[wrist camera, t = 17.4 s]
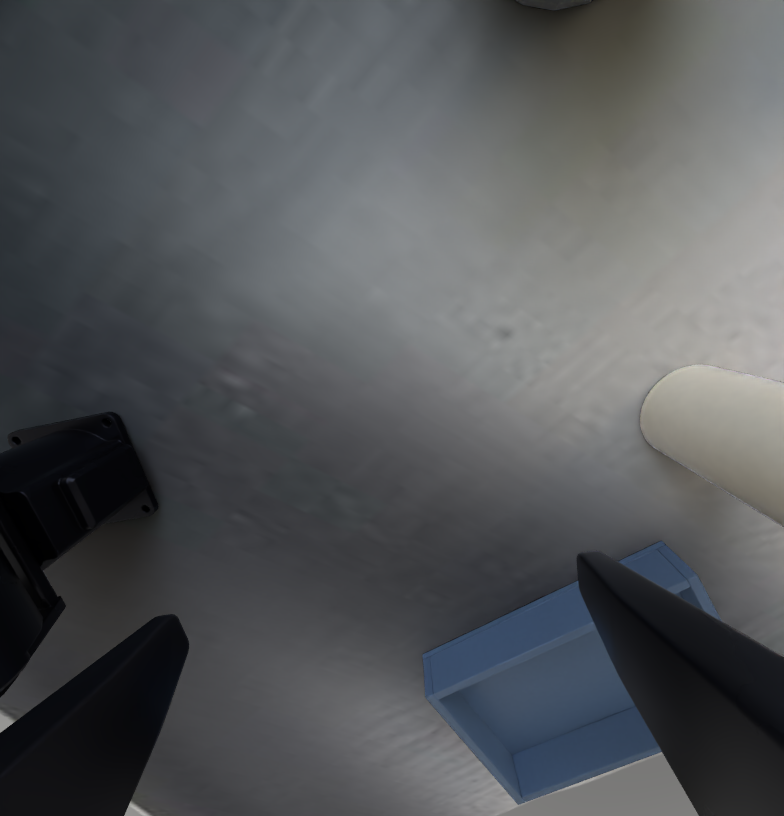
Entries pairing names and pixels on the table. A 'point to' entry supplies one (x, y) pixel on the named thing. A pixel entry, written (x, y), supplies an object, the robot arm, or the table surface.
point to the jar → (722, 431)
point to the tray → (549, 687)
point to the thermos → (553, 3)
